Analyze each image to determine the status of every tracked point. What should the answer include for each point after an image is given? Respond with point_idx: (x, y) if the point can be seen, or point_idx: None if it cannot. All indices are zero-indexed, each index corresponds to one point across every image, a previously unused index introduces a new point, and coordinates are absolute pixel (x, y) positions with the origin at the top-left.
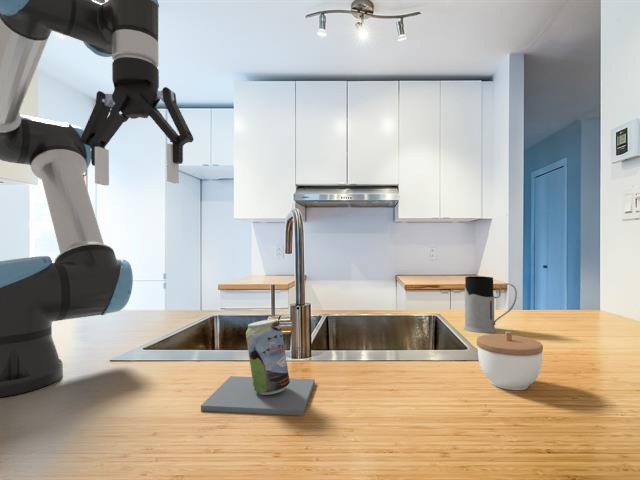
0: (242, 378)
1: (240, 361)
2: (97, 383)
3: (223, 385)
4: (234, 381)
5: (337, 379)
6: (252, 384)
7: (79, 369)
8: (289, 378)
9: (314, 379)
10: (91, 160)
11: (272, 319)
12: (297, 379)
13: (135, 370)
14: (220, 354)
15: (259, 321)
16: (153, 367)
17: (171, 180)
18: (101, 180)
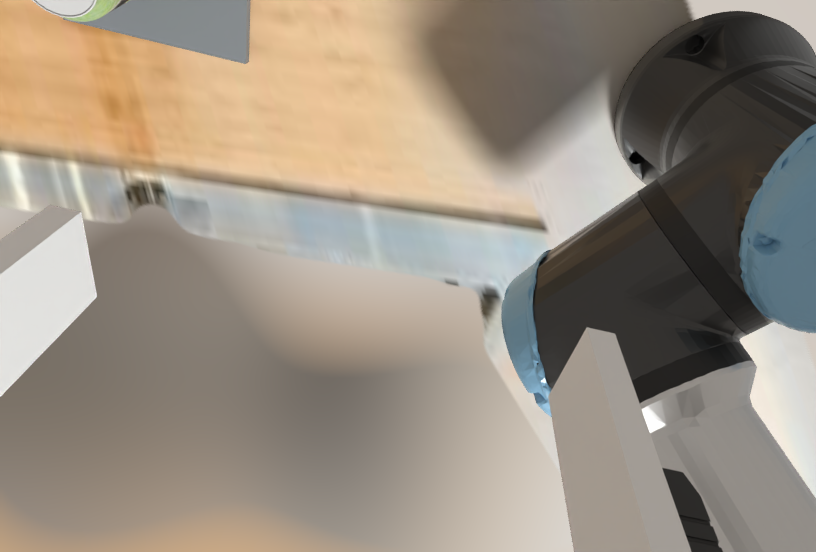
0: (215, 44)
1: (264, 180)
2: (525, 82)
3: (242, 5)
4: (226, 27)
5: (30, 38)
6: (182, 3)
7: (594, 178)
8: (117, 31)
9: (63, 18)
10: (705, 510)
11: (40, 5)
12: (98, 23)
13: (470, 154)
14: (320, 231)
15: (80, 13)
16: (437, 168)
17: (47, 211)
18: (580, 363)
